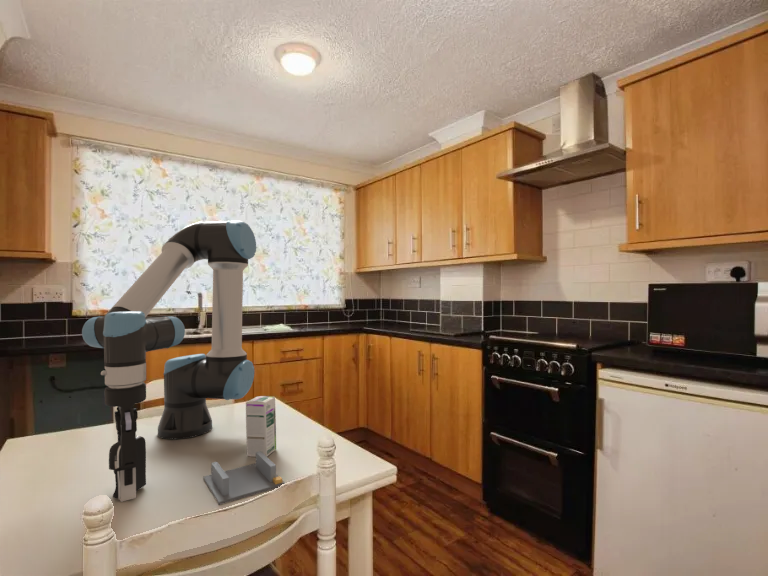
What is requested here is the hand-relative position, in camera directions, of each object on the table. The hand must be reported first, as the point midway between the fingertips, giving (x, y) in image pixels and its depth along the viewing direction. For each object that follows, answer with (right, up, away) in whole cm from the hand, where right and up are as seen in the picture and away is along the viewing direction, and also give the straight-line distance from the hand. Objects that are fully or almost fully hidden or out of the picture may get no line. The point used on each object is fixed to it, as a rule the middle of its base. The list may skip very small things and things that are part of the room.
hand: (126, 491), depth 88 cm
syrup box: (+22, -1, +22) cm, 31 cm away
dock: (+23, 0, +5) cm, 24 cm away
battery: (0, 0, 0) cm, 1 cm away
